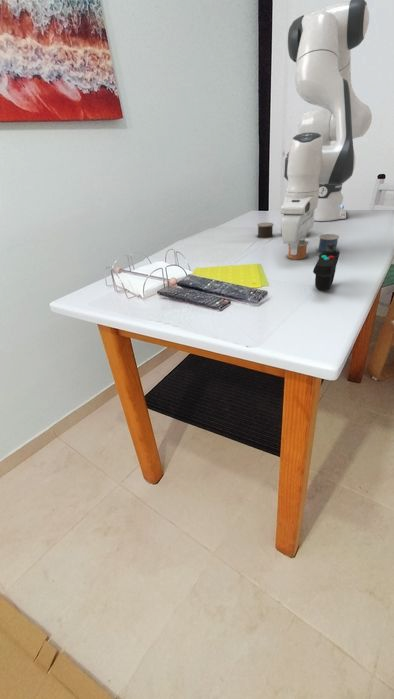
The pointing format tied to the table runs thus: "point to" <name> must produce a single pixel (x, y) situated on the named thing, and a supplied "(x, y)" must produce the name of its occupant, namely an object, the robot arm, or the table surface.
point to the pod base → (265, 230)
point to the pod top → (327, 241)
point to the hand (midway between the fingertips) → (297, 251)
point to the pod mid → (299, 250)
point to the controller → (326, 267)
